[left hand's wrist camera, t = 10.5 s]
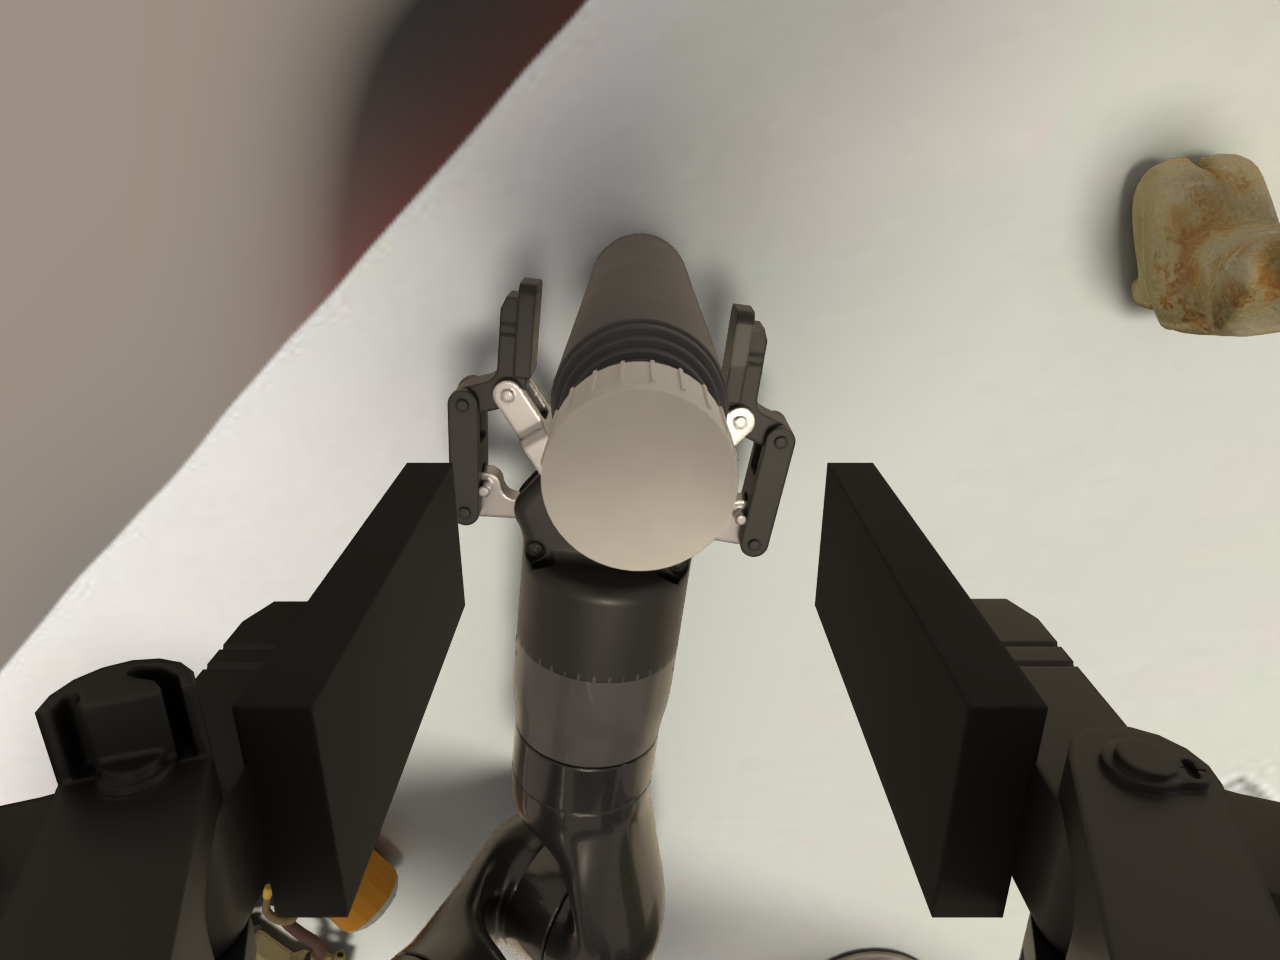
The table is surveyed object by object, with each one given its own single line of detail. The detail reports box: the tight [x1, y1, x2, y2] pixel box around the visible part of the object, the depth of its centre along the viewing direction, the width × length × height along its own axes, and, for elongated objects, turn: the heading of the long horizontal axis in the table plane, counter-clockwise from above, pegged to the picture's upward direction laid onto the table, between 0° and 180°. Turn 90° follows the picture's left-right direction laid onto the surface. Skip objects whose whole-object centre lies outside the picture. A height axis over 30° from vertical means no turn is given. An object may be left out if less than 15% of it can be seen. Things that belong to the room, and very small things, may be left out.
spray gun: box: [252, 849, 398, 960], centre depth 52 cm, size 4×17×15 cm
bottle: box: [551, 234, 729, 421], centre depth 28 cm, size 4×4×24 cm
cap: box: [540, 360, 739, 571], centre depth 18 cm, size 4×4×2 cm
